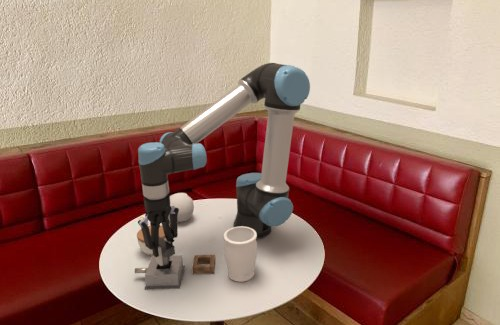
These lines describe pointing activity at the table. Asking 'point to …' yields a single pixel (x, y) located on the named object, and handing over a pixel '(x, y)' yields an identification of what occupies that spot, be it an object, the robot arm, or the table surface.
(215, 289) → the table surface
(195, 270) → the key stand
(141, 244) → the lidded jar
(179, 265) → the square block with stud
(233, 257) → the jar
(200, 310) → the table surface
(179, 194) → the decorative ball
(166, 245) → the bar
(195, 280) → the table surface
